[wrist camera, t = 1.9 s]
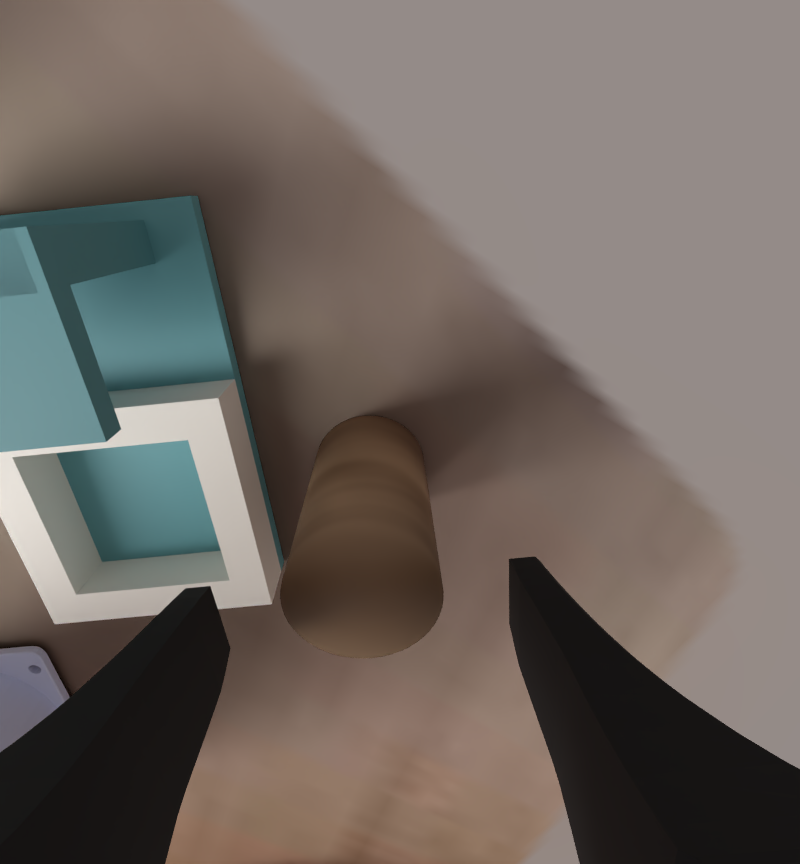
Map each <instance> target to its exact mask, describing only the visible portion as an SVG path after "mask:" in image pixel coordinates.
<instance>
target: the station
mask: <svg viewBox="0 0 800 864" xmlns="http://www.w3.org/2000/svg"><path fill="white" fill-rule="evenodd" d="M0 517H1V519H2V521H3V523H4V525H5V527H6V529H7V531H8V533H9V535H10V537H11V539H12V541H13V543H14V545H15V547H16V549H17V551H18V553H19V555H20V557H21V559H22V561H23V563H24V565H25V567H26V568H27V570H28V572H29V574H30V576H31V578H32V580H33V582H34V584H35V586H36V588H37V590H38V592H39V594H40V596H41V598H42V600H43V602H44V604H45V606H46V608H47V610H48V612H49V614H50V616H51V618H52V620H53V622H54V624H64V623H75V622H85V621H96V620H107V619H118V618H129V617H140V616H150V615H158V614H159V613H160V612H161V611H162V610H163V609H164V608H165V607H166V606H167V605H168V604H169V603H170V602H171V601H172V600H173V599H174V598H176V597H177V596H178V595H179V594H180V593H181V592H182V591H183V590H184V589H185V588H194V587H205V586H211V590H212V593H213V596H214V599H215V602H216V605H217V608H218V609H226V608H237V607H248V606H259V605H269V604H272V602H273V599H274V595H275V592H276V588H277V585H278V581H279V578H280V574H281V571H282V567H283V564H284V559H283V555H282V551H281V546H280V542H279V538H278V534H277V530H276V525H275V521H274V517H273V513H272V508H271V504H270V500H269V496H268V491H267V487H266V483H265V479H264V475H263V470H262V466H261V462H260V458H259V453H258V449H257V445H256V441H255V436H254V432H253V428H252V424H251V420H250V415H249V411H248V407H247V403H246V398H245V394H244V390H243V386H242V381H241V377H240V373H239V369H238V365H237V360H236V356H235V352H234V348H233V343H232V339H231V335H230V331H229V326H228V322H227V318H226V314H225V309H224V305H223V301H222V297H221V293H220V288H219V284H218V280H217V276H216V271H215V267H214V263H213V259H212V254H211V250H210V246H209V242H208V238H207V233H206V229H205V225H204V221H203V216H202V212H201V208H200V204H199V199H198V196H182V197H173V198H163V199H154V200H144V201H135V202H125V203H116V204H106V205H97V206H87V207H77V208H68V209H58V210H49V211H39V212H30V213H20V214H11V215H1V216H0Z"/></svg>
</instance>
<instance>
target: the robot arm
mask: <svg viewBox="0 0 800 864" xmlns="http://www.w3.org/2000/svg"><path fill="white" fill-rule="evenodd" d="M509 624H510V628H511V633H512V637H513V641H514V646H515V650H516V654H517V659H518V663H519V666H520V669H521V672H522V675H523V678H524V681H525V684H526V687H527V690H528V693H529V695H530V698H531V701H532V704H533V707H534V710H535V713H536V715H537V718H538V721H539V724H540V727H541V730H542V733H543V735H544V738H545V741H546V744H547V747H548V750H549V753H550V755H551V758H552V761H553V764H554V767H555V771H556V774H557V777H558V780H559V784H560V787H561V791H562V795H563V799H564V803H565V807H566V811H567V815H568V818H569V822H570V826H571V829H572V834H573V838H574V842H575V846H576V850H577V854H578V858H579V862H580V864H800V769H798V768H796V767H795V766H793V765H791V764H789V763H787V762H785V761H784V760H782V759H780V758H779V757H777V756H775V755H774V754H772V753H770V752H768V751H767V750H765V749H764V748H762V747H760V746H759V745H757V744H755V743H754V742H752V741H750V740H749V739H747V738H745V737H744V736H742V735H740V734H739V733H737V732H736V731H734V730H733V729H731V728H730V727H728V726H726V725H725V724H724V723H722V722H721V721H719V720H718V719H716V718H715V717H713V716H712V715H710V714H709V713H707V712H706V711H704V710H703V709H701V708H700V707H698V706H697V705H696V704H694V703H693V702H691V701H689V700H688V699H687V698H685V697H684V696H683V695H681V694H680V693H679V692H677V691H676V690H675V689H673V688H672V687H671V686H669V685H668V684H667V683H665V682H664V681H663V680H662V679H660V678H659V677H658V676H656V675H655V674H654V673H653V672H651V671H650V670H649V669H648V668H646V667H645V666H644V665H643V664H642V663H640V662H639V661H638V660H637V659H636V658H635V657H633V656H632V655H631V654H630V653H629V652H628V651H626V650H625V649H624V648H623V647H622V646H621V645H620V644H619V643H618V642H617V641H615V640H614V639H613V638H612V637H611V636H610V635H609V634H608V633H607V632H606V631H605V630H604V629H603V628H602V627H601V626H599V625H598V624H597V623H596V622H595V621H594V620H593V619H592V618H591V617H590V616H589V615H588V614H587V613H586V612H585V611H584V610H583V608H582V607H581V606H580V605H579V604H578V603H577V602H576V601H575V600H574V599H573V598H572V597H571V596H570V595H569V594H568V593H567V592H566V591H565V589H564V588H563V587H562V586H561V585H560V584H559V583H558V582H557V581H556V579H555V578H554V577H553V576H552V575H551V574H550V572H549V571H548V570H547V569H546V568H545V567H544V565H543V564H542V563H541V562H540V561H539V560H538V559H537V558H536V557H525V558H514V559H509ZM229 652H230V646H229V643H228V639H227V636H226V633H225V630H224V627H223V624H222V621H221V618H220V614H219V611H218V608H217V605H216V602H215V599H214V596H213V593H212V590H211V586H205V587H194V588H185V589H184V590H183V591H182V592H181V593H180V594H179V595H178V596H177V597H176V598H174V599H173V600H172V601H171V602H170V603H169V604H168V605H167V606H166V607H165V608H164V609H163V610H162V611H161V612H160V613H159V614H158V615H157V616H156V617H155V618H154V619H153V620H152V621H151V622H150V623H149V624H148V625H147V626H146V627H145V628H144V629H143V630H142V631H141V632H140V633H139V634H138V635H137V636H136V637H135V638H134V639H133V640H132V641H131V642H130V643H129V644H128V645H127V646H126V647H125V648H124V649H123V650H122V651H121V652H119V653H118V654H117V655H116V656H115V657H114V658H113V659H112V660H111V661H110V662H109V663H108V664H107V665H105V666H104V667H103V668H102V669H101V670H100V671H99V672H98V673H97V674H96V675H94V676H93V677H92V678H91V679H90V680H89V681H88V682H87V683H86V684H84V685H83V686H82V687H81V688H80V689H79V690H78V691H77V692H76V693H75V694H73V695H72V696H71V697H69V695H68V693H67V691H66V689H65V687H64V685H63V683H62V681H61V680H60V678H59V676H58V674H57V672H56V670H55V668H54V666H53V664H52V663H51V661H50V659H49V657H48V655H47V653H46V652H45V651H44V650H43V649H42V648H40V647H37V646H26V647H15V648H4V649H0V864H165V862H166V858H167V854H168V850H169V846H170V843H171V839H172V835H173V831H174V827H175V823H176V820H177V816H178V813H179V810H180V806H181V803H182V800H183V797H184V794H185V791H186V788H187V785H188V782H189V780H190V777H191V774H192V771H193V768H194V766H195V763H196V760H197V757H198V755H199V752H200V749H201V746H202V743H203V741H204V738H205V735H206V732H207V729H208V727H209V724H210V721H211V718H212V715H213V712H214V710H215V707H216V704H217V701H218V698H219V695H220V692H221V688H222V684H223V680H224V676H225V671H226V667H227V662H228V657H229Z"/></svg>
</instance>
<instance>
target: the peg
mask: <svg viewBox="0 0 800 864" xmlns="http://www.w3.org/2000/svg"><path fill="white" fill-rule="evenodd" d="M280 599H281V605H282V609H283V612H284V615H285V617H286V619H287V620H288V622H289V624H290V625H291V626H292V628H293V629H294V630H295V631H296V632H297V633H298V634H299V635H300V636H301V637H302V638H303V639H304V640H306V641H307V642H308V643H310V644H312V645H313V646H315V647H317V648H319V649H321V650H323V651H326V652H329V653H331V654H335V655H339V656H343V657H350V658H375V657H382V656H386V655H390V654H393V653H396V652H399V651H402V650H404V649H406V648H408V647H410V646H411V645H413V644H415V643H416V642H418V641H419V640H420V639H421V638H423V637H424V636H425V635H426V634H427V633H428V632H429V631H430V630H431V628H432V627H433V626H434V624H435V623H436V621H437V619H438V617H439V615H440V612H441V609H442V605H443V586H442V579H441V572H440V565H439V559H438V552H437V545H436V539H435V532H434V525H433V519H432V512H431V505H430V498H429V492H428V485H427V478H426V472H425V465H424V458H423V453H422V450H421V447H420V445H419V443H418V441H417V440H416V438H415V437H414V435H413V434H412V433H411V432H410V431H409V430H408V429H407V428H405V427H404V426H403V425H401V424H399V423H398V422H396V421H393V420H391V419H388V418H385V417H380V416H359V417H354V418H351V419H348V420H346V421H344V422H342V423H340V424H338V425H337V426H335V427H334V428H333V429H332V430H331V431H330V432H329V433H328V434H327V435H326V436H325V438H324V439H323V441H322V443H321V444H320V447H319V450H318V453H317V456H316V460H315V464H314V467H313V471H312V474H311V478H310V482H309V485H308V489H307V493H306V496H305V500H304V503H303V507H302V511H301V514H300V518H299V522H298V525H297V529H296V532H295V536H294V540H293V543H292V547H291V551H290V554H289V558H288V561H287V565H286V569H285V572H284V576H283V580H282V584H281V590H280Z"/></svg>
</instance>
